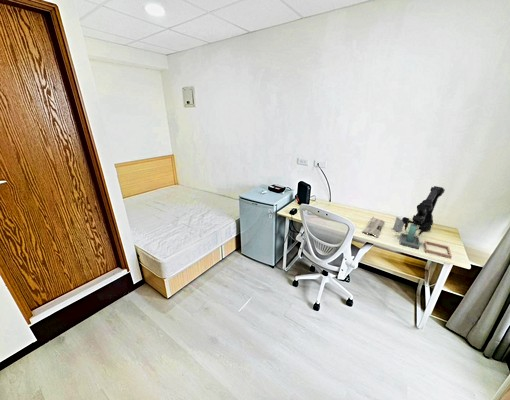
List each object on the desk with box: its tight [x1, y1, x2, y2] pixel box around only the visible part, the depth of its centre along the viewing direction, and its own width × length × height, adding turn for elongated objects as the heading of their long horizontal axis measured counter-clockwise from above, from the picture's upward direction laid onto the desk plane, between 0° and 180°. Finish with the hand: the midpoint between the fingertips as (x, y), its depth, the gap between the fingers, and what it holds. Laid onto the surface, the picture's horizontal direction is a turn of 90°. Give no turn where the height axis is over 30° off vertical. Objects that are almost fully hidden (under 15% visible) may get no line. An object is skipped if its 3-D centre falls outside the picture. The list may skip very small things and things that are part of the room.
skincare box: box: [393, 216, 405, 233], centre depth 188 cm, size 6×4×12 cm
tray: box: [399, 232, 420, 250], centre depth 171 cm, size 16×12×2 cm
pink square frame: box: [424, 240, 453, 259], centre depth 161 cm, size 15×15×2 cm
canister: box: [406, 223, 419, 243], centre depth 169 cm, size 4×4×14 cm
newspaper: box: [362, 216, 386, 238], centre depth 194 cm, size 35×12×4 cm, turn 143°
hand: (411, 232), depth 168 cm, fingers open, 9 cm apart
